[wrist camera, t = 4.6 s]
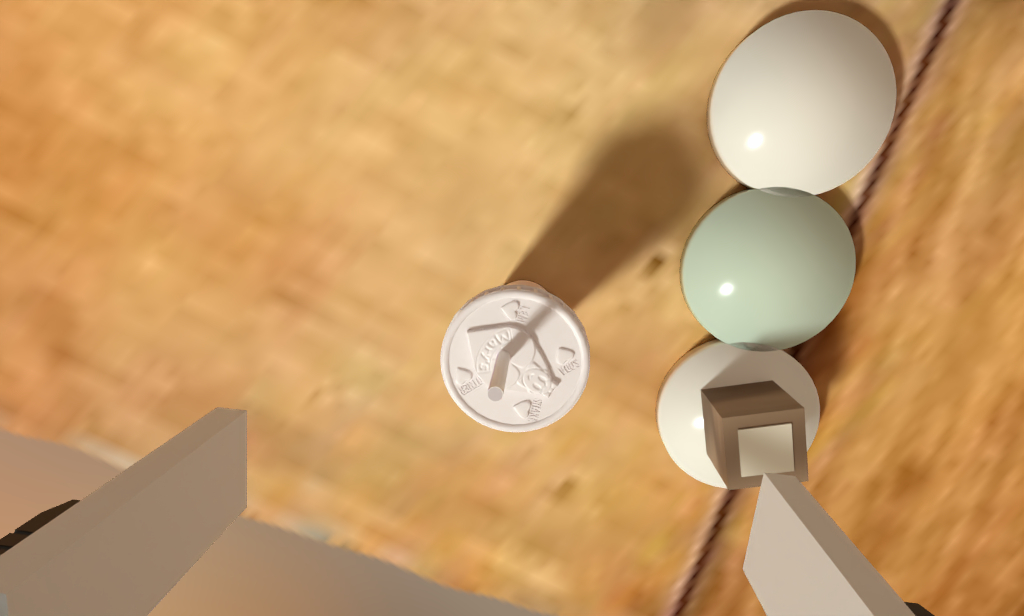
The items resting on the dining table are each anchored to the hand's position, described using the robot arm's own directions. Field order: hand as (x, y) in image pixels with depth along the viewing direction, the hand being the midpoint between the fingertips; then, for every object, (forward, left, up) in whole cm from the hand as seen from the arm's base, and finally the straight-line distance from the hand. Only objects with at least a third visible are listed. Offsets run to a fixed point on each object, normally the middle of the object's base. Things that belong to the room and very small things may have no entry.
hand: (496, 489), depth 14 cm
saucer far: (+4, +13, -19) cm, 24 cm away
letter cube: (+4, +13, -18) cm, 23 cm away
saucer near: (-13, +13, -19) cm, 26 cm away
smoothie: (0, 0, -20) cm, 19 cm away
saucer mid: (-4, +13, -19) cm, 24 cm away
